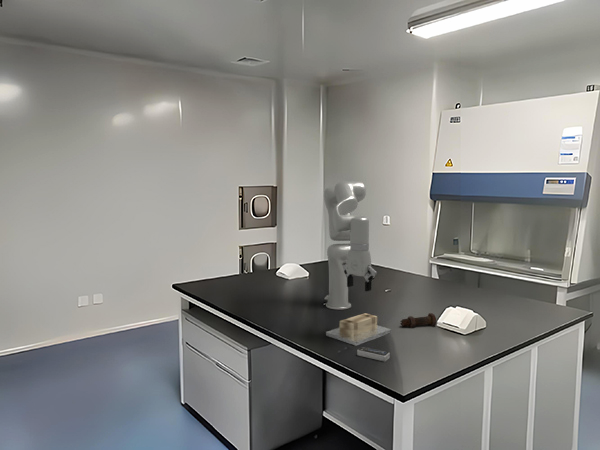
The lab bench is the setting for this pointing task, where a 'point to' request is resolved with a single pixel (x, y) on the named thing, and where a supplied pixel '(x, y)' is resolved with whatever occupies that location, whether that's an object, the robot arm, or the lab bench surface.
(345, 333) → the tan rectangular block
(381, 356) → the multiport hub
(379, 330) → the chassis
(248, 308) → the lab bench surface
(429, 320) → the bolt
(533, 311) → the lab bench surface
